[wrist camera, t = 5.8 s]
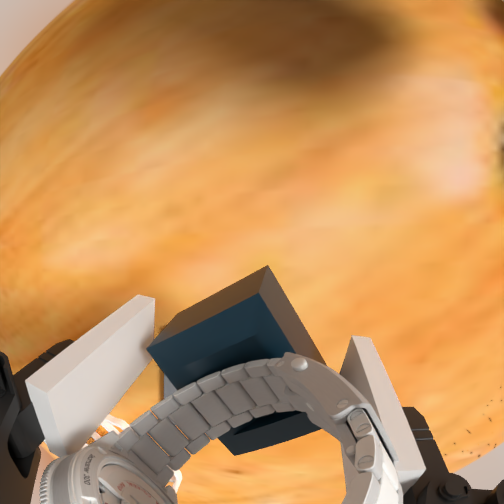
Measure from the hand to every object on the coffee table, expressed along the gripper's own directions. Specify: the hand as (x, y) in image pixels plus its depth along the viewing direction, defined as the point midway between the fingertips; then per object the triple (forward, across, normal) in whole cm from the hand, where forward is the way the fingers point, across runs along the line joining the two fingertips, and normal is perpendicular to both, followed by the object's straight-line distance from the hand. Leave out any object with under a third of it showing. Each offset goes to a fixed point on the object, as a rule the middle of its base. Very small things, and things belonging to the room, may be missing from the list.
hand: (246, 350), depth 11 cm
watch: (+1, 0, 0) cm, 1 cm away
